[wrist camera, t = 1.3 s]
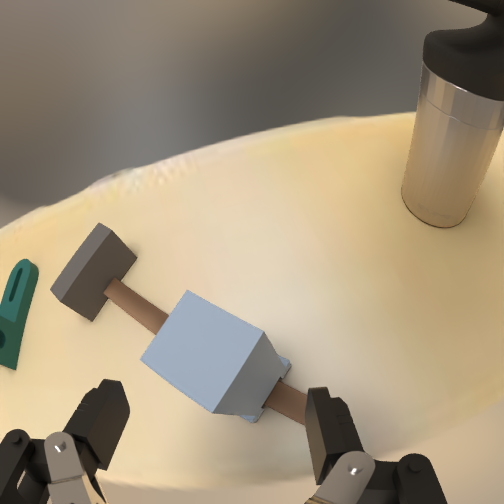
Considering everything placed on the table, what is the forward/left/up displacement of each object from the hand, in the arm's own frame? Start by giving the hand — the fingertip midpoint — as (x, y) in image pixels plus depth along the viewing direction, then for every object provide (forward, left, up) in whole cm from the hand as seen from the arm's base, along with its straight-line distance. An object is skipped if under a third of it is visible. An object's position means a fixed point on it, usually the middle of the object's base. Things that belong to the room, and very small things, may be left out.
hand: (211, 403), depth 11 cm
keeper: (-2, -3, -15) cm, 15 cm away
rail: (-2, -8, -15) cm, 17 cm away
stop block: (-2, -24, -15) cm, 28 cm away
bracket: (+12, -39, -15) cm, 43 cm away
